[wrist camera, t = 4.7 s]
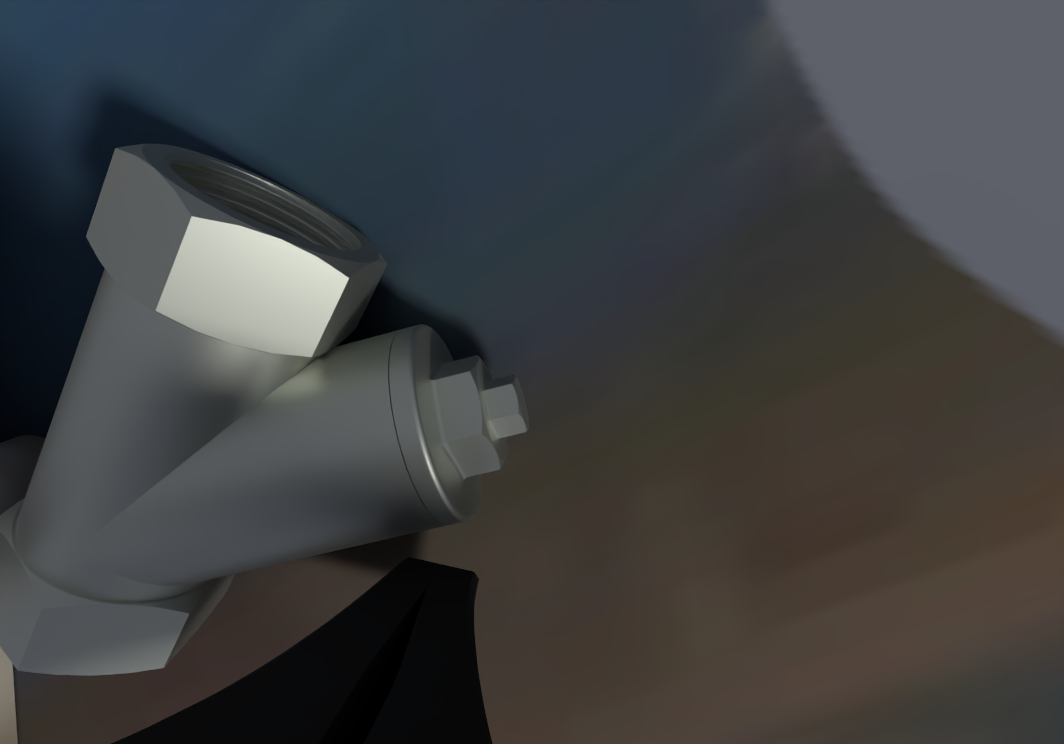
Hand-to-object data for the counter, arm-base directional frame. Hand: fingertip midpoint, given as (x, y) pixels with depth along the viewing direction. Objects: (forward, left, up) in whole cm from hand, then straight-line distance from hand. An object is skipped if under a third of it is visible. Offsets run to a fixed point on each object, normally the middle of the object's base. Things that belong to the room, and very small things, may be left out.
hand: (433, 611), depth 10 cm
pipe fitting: (+2, +3, -2) cm, 4 cm away
